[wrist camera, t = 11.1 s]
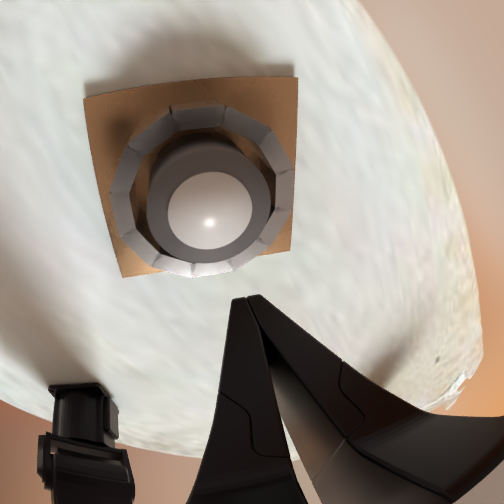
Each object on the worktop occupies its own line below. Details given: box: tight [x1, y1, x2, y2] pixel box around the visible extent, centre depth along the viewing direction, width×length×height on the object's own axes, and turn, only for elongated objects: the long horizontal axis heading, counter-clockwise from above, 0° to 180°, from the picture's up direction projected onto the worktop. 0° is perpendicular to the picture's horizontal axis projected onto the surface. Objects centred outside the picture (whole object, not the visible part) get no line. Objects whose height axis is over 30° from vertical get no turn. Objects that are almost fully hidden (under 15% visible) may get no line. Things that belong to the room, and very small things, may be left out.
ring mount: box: [83, 77, 298, 278], centre depth 17 cm, size 12×12×3 cm
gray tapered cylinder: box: [147, 132, 271, 263], centre depth 16 cm, size 6×6×4 cm
